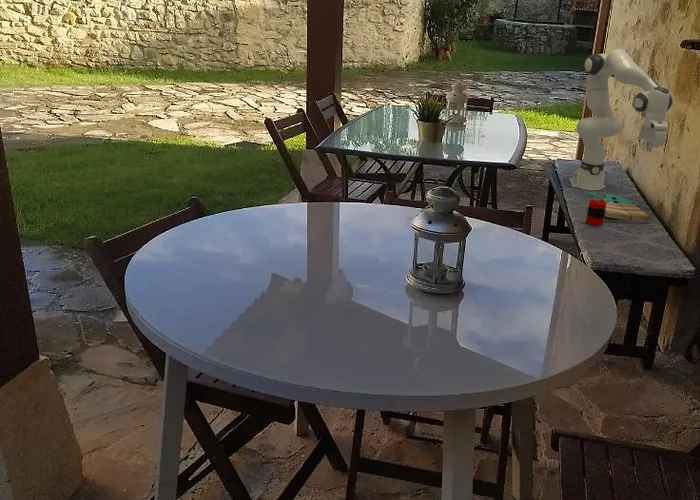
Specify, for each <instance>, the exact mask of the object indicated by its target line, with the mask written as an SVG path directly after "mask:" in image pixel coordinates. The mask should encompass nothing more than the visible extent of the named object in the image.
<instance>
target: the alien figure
mask: <svg viewBox="0 0 700 500" xmlns="http://www.w3.org/2000/svg"><path fill="white" fill-rule="evenodd" d="M587 198H602V199H604V200H605V202H609V203H616V204H633V203H632V201H631V199H626V198H625V197H620V196H619V195H618V196H617V195H615V194H608V193H606V194H605V195H604V196H603V195H599V194H594V193H593V192H587Z"/></svg>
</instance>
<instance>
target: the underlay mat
mask: <svg viewBox="0 0 700 500" xmlns="http://www.w3.org/2000/svg"><path fill="white" fill-rule="evenodd" d="M588 207H589V206H586V208H585V209H586V210H587V211H588ZM603 223H611V224H612V223H614V224H635V223H639V225H640V224H641V225H650V224H651V221H650V220H649V221H630V220H624V219H617V218H611V217H606V216H605V215H604V220H603Z"/></svg>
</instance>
